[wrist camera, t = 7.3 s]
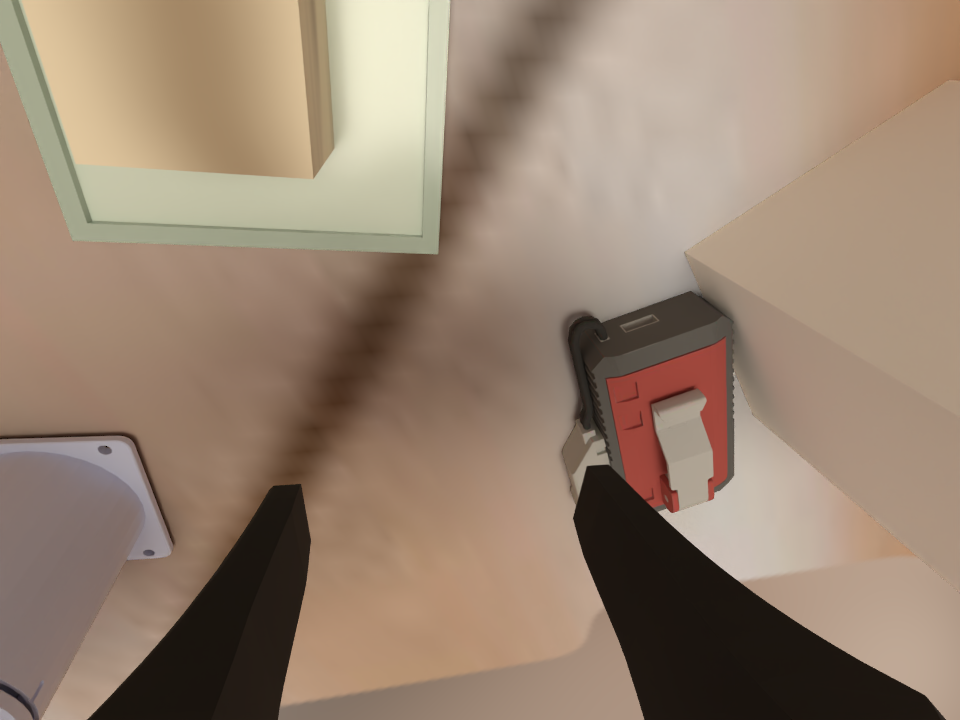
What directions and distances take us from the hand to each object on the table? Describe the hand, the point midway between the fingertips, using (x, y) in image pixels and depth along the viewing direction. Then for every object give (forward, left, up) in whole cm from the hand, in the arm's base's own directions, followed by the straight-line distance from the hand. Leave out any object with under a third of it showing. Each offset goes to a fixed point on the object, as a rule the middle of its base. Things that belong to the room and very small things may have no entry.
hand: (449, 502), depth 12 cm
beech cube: (-6, +9, -9) cm, 14 cm away
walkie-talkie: (+12, -8, -10) cm, 18 cm away
